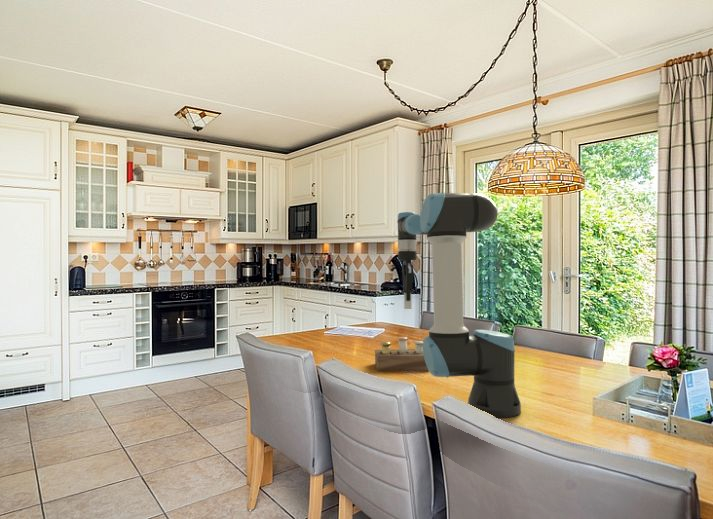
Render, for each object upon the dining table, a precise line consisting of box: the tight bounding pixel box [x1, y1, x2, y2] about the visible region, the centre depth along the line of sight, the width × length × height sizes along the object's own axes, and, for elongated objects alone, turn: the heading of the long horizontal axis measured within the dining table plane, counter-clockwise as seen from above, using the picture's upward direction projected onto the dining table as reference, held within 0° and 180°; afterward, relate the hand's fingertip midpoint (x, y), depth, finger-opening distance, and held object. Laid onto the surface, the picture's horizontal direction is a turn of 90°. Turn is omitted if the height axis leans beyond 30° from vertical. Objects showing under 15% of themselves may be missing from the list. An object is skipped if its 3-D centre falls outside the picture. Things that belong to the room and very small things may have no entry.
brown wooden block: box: [374, 348, 429, 372], centre depth 187 cm, size 12×22×6 cm, turn 92°
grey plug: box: [414, 340, 423, 353], centre depth 187 cm, size 4×4×9 cm
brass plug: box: [380, 341, 392, 354], centre depth 187 cm, size 4×4×9 cm
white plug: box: [397, 336, 409, 354], centre depth 187 cm, size 4×4×9 cm
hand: (407, 308), depth 185 cm, fingers closed
